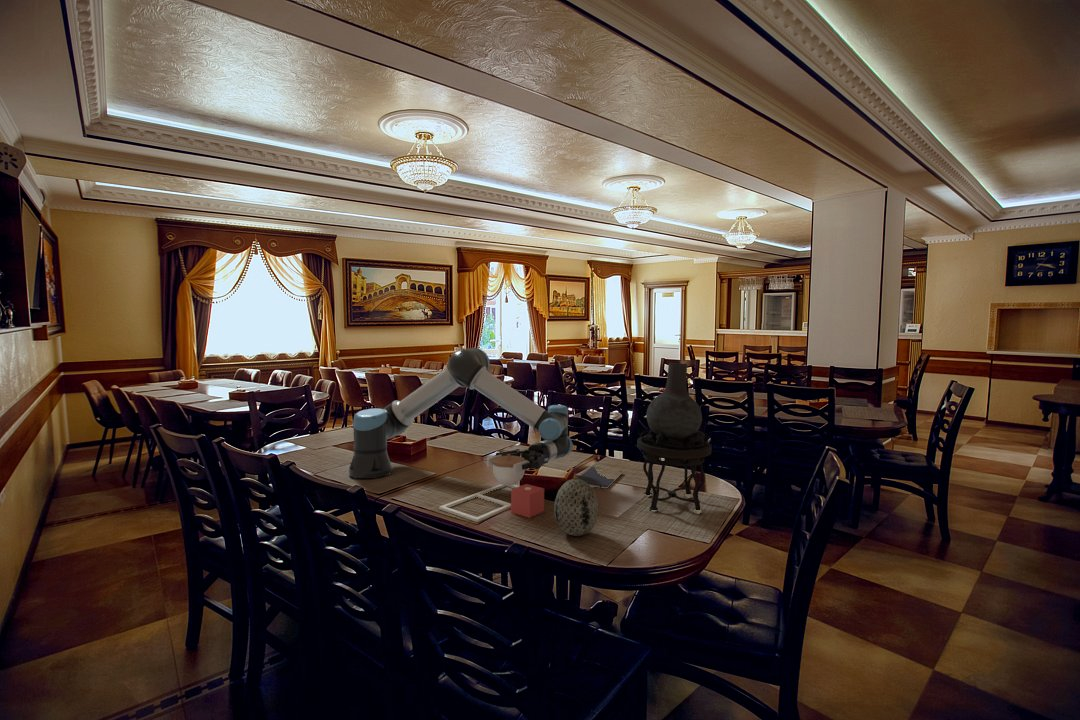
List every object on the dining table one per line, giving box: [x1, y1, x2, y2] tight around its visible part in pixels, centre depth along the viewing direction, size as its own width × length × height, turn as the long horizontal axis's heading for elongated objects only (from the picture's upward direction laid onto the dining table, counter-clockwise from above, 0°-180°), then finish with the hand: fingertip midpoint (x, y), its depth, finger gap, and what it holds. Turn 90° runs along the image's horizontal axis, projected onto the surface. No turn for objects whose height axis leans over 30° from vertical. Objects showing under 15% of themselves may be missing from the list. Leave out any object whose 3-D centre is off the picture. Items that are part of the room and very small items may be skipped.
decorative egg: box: [553, 478, 599, 537], centre depth 133 cm, size 12×12×15 cm
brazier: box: [636, 362, 713, 511], centre depth 156 cm, size 22×22×45 cm
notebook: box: [576, 466, 614, 489], centre depth 183 cm, size 13×2×21 cm
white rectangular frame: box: [438, 483, 520, 523], centre depth 157 cm, size 31×16×1 cm, turn 143°
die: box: [510, 483, 545, 519], centre depth 148 cm, size 7×7×7 cm
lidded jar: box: [492, 454, 525, 487], centre depth 162 cm, size 11×11×9 cm
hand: (500, 465), depth 159 cm, fingers closed on lidded jar, 11 cm apart
